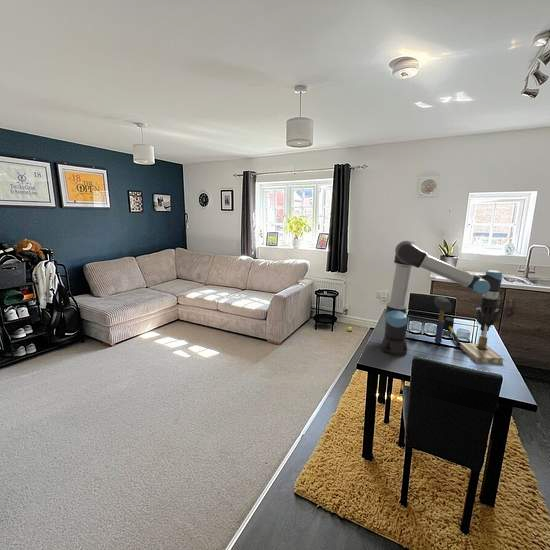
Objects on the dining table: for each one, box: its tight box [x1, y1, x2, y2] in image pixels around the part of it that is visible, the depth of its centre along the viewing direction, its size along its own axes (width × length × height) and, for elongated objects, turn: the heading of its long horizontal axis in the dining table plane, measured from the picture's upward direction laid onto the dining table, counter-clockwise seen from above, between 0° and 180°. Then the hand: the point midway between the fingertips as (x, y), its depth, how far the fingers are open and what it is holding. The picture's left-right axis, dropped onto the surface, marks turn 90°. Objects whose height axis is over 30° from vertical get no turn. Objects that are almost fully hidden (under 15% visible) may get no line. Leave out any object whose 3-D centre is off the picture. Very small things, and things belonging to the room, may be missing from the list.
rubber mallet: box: [433, 295, 453, 344], centre depth 187 cm, size 12×8×30 cm, turn 171°
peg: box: [477, 335, 489, 350], centre depth 177 cm, size 4×4×10 cm
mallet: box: [443, 316, 462, 348], centre depth 198 cm, size 29×6×10 cm, turn 165°
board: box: [459, 342, 504, 364], centre depth 175 cm, size 14×18×3 cm
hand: (483, 335), depth 176 cm, fingers closed
